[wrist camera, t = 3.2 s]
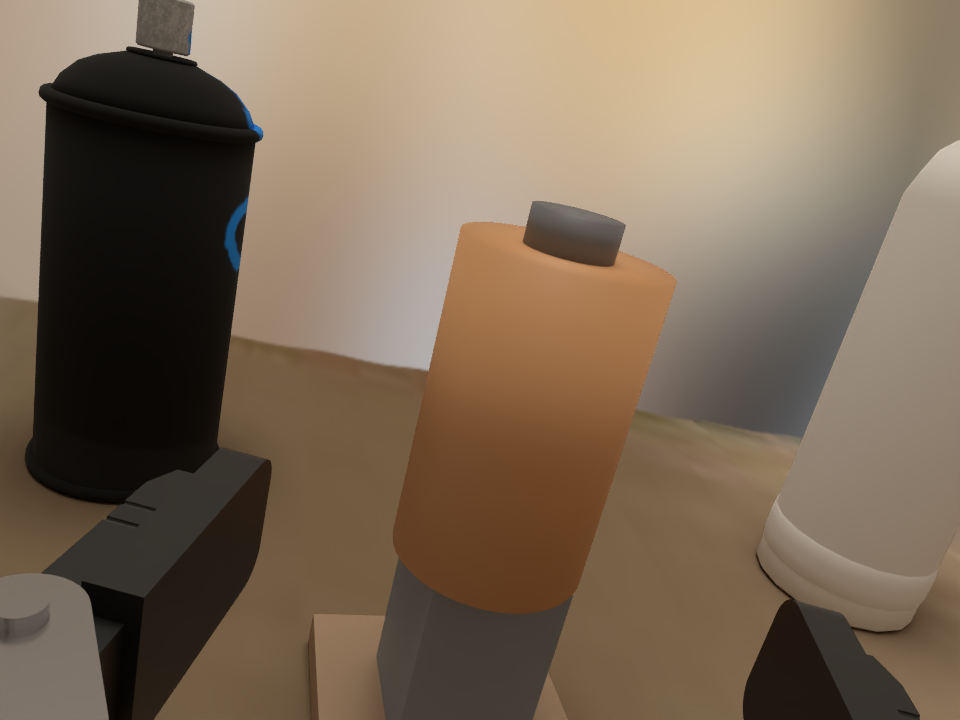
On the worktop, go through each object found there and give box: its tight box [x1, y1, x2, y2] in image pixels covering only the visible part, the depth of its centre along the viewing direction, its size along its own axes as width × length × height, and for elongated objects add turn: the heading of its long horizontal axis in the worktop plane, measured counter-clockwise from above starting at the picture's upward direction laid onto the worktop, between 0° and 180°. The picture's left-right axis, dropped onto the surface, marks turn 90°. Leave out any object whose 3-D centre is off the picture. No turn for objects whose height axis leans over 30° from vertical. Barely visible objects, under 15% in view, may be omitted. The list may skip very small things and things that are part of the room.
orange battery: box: [393, 201, 677, 614], centre depth 20 cm, size 6×6×10 cm
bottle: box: [756, 140, 960, 632], centre depth 34 cm, size 8×8×30 cm
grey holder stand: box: [308, 558, 573, 720], centre depth 23 cm, size 8×8×7 cm
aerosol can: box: [25, 0, 263, 503], centre depth 32 cm, size 8×8×20 cm
